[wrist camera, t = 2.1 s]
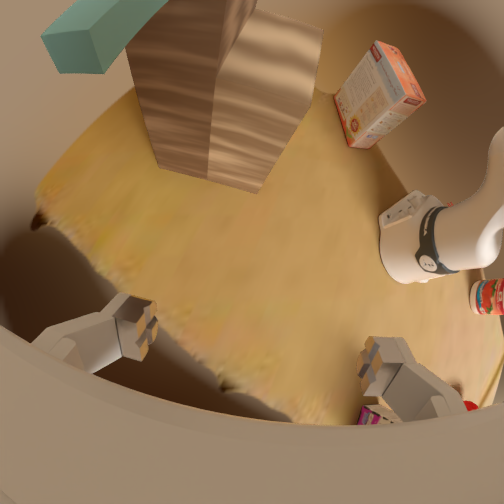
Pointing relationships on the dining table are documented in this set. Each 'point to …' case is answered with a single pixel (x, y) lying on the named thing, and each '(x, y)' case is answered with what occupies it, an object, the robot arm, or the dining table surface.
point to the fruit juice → (488, 297)
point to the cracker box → (377, 96)
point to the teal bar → (95, 33)
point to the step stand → (223, 87)
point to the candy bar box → (377, 415)
